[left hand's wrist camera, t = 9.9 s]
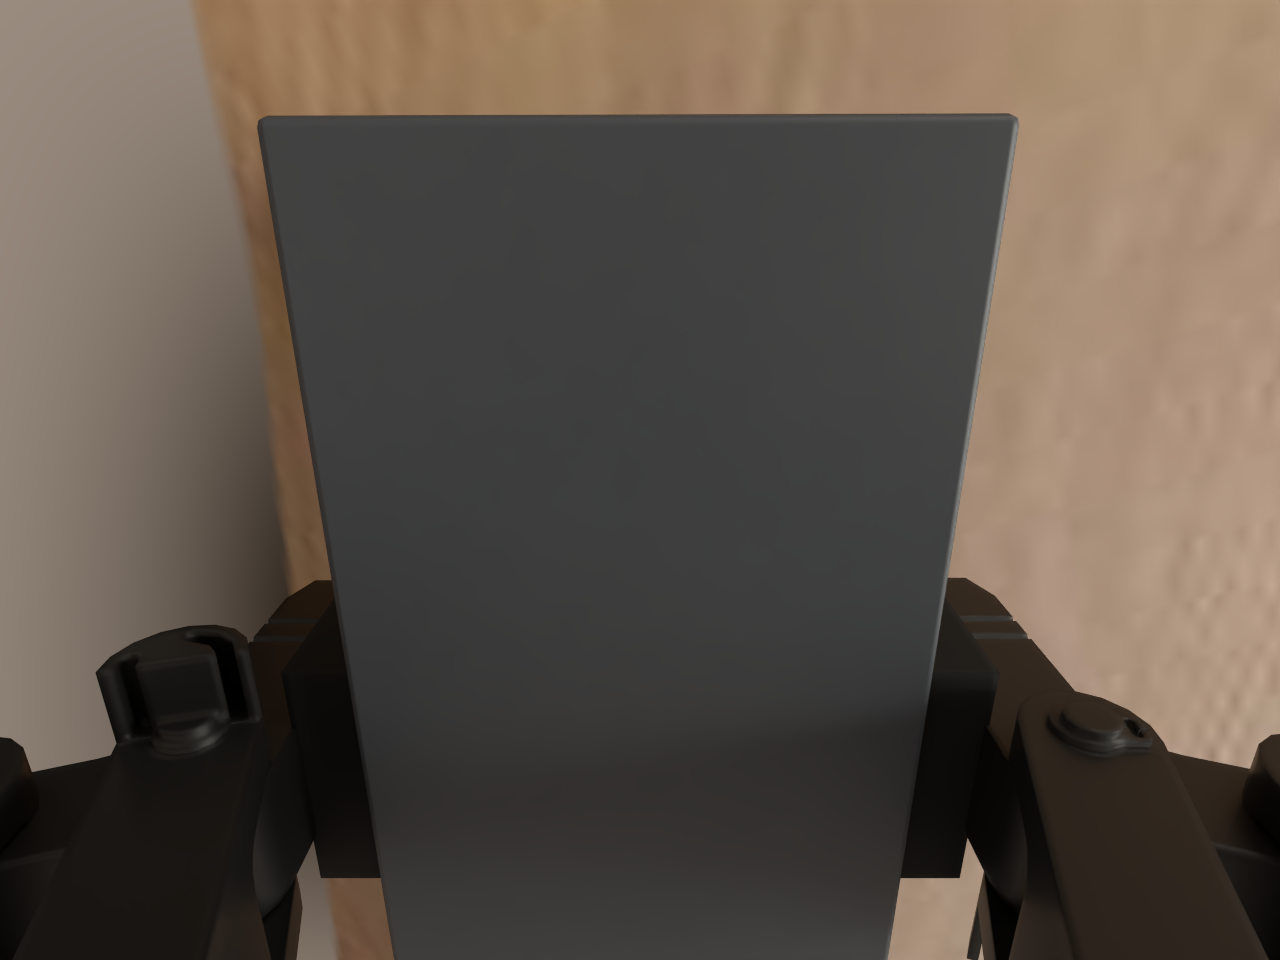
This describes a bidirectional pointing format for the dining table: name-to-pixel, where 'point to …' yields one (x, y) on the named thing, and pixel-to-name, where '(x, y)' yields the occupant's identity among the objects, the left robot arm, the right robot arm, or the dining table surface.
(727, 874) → the beam
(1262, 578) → the dining table surface
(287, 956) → the left robot arm
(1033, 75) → the dining table surface
